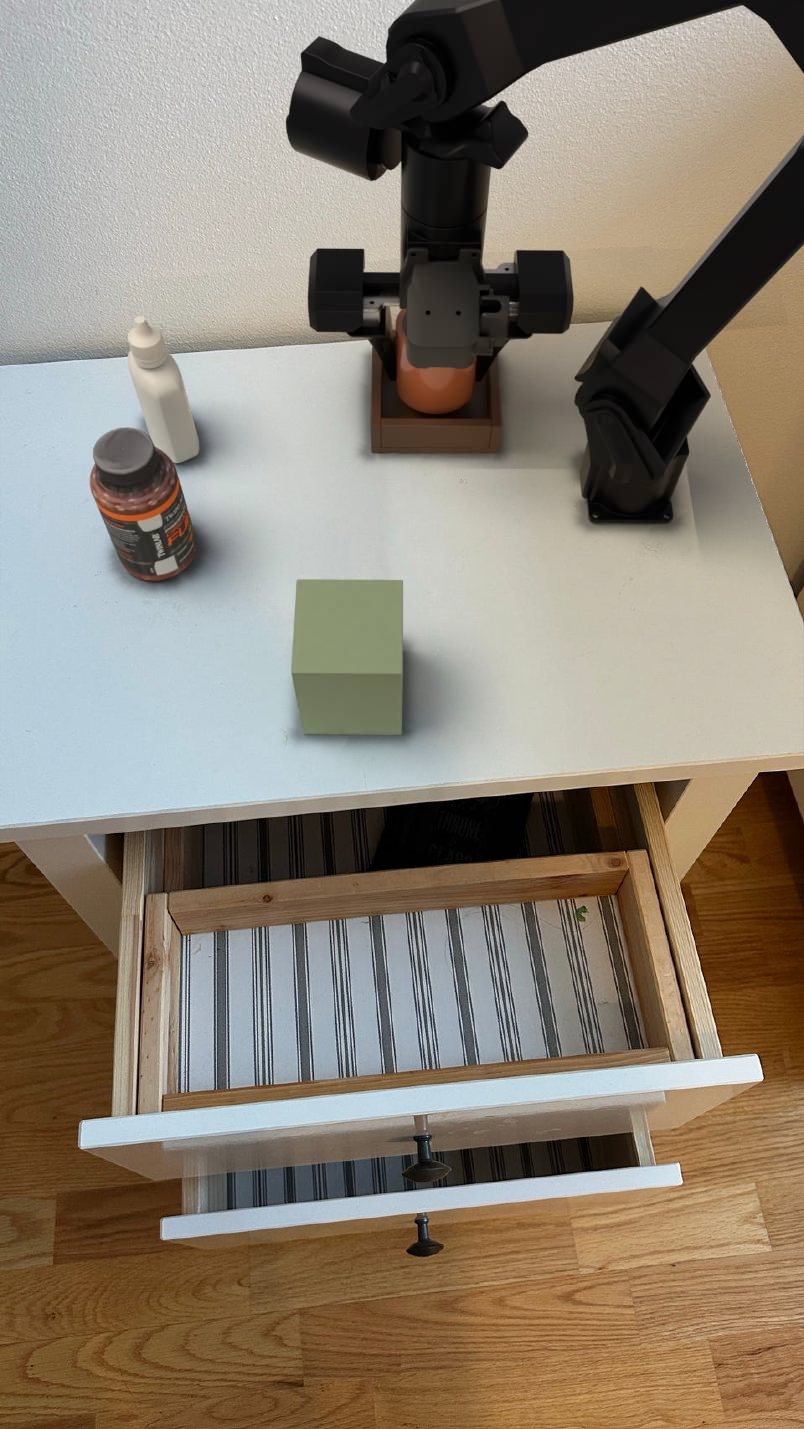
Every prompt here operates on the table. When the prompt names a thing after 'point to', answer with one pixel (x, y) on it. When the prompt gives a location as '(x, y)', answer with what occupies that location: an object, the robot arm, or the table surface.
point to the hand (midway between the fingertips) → (435, 377)
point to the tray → (434, 419)
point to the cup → (430, 379)
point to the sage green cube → (348, 656)
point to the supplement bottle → (142, 505)
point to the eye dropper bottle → (161, 393)
